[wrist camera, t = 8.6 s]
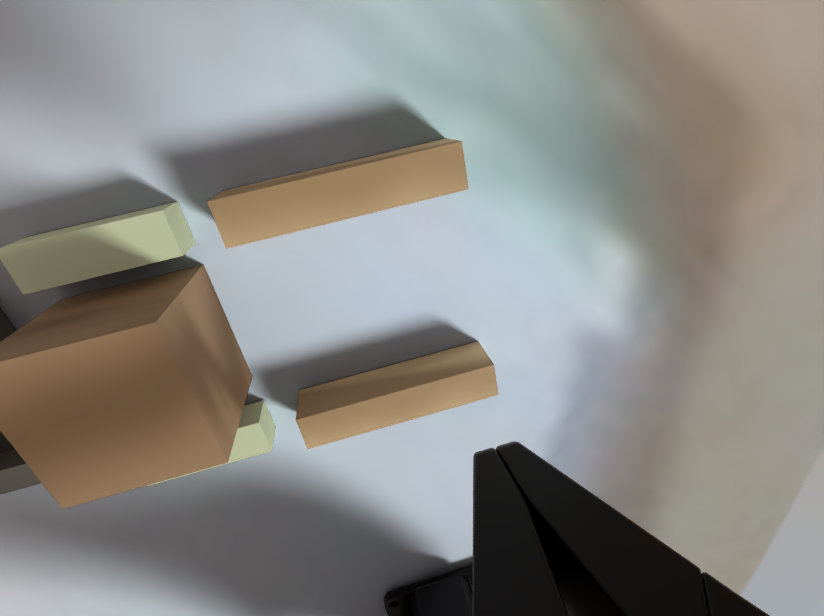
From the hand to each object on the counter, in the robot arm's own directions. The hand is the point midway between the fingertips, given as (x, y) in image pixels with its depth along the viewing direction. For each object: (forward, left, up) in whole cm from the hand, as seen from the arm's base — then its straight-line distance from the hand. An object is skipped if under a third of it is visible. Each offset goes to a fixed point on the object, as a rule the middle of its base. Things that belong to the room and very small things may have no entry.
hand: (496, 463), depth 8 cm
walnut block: (0, +10, -10) cm, 14 cm away
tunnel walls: (0, +2, -10) cm, 10 cm away
